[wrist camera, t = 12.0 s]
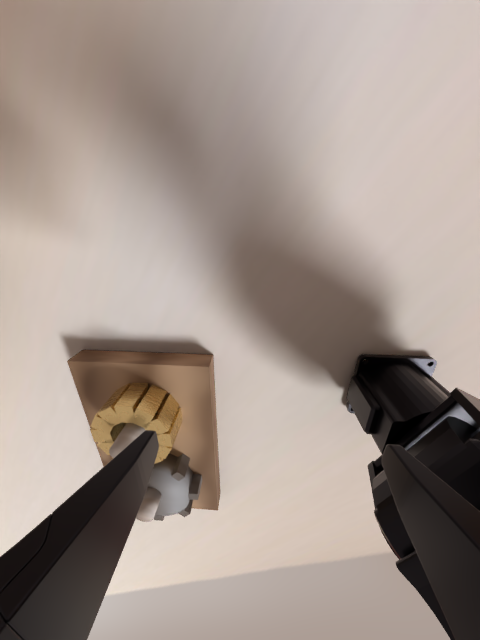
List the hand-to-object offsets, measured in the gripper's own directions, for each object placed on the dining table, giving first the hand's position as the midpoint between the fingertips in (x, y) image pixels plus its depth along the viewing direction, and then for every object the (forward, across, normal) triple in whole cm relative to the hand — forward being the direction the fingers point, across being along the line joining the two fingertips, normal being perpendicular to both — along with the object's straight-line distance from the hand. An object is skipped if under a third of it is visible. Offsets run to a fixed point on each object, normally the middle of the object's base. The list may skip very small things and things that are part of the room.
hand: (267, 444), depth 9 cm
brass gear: (+10, +11, +9) cm, 17 cm away
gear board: (+12, +11, +14) cm, 21 cm away
